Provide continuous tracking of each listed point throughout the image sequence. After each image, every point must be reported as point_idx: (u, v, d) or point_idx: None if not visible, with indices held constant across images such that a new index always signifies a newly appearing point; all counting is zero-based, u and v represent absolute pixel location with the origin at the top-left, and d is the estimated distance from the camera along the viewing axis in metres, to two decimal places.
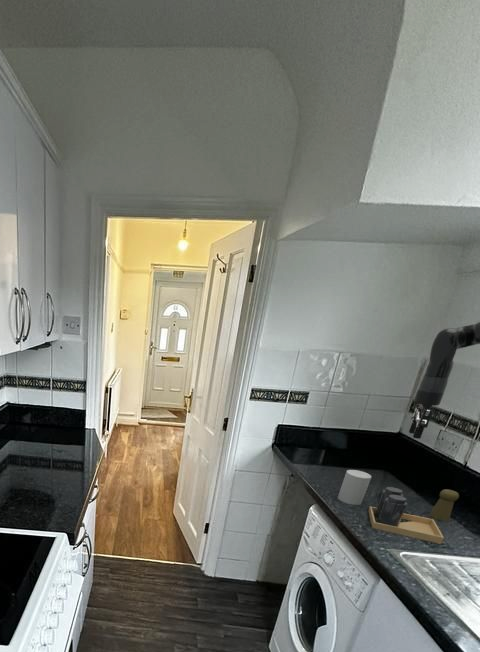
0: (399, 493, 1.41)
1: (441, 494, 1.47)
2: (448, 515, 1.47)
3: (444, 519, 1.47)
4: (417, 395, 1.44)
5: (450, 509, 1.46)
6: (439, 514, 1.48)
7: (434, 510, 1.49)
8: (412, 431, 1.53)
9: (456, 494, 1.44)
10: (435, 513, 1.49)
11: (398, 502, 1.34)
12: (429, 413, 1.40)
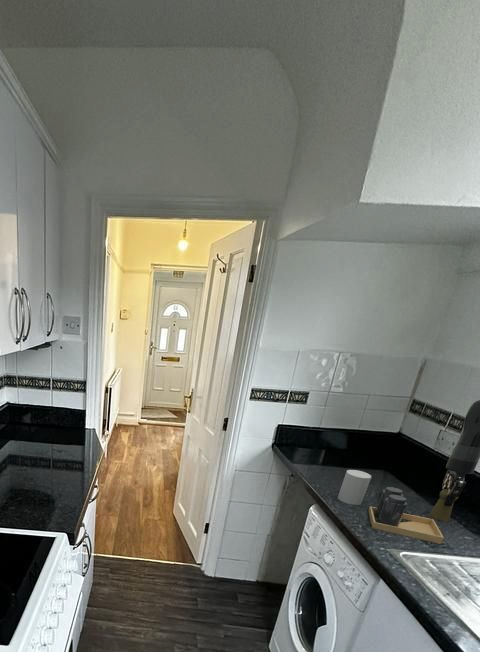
0: (399, 493, 1.41)
1: (441, 494, 1.47)
2: (448, 515, 1.47)
3: (444, 519, 1.47)
4: (450, 462, 1.42)
5: (450, 509, 1.46)
6: (439, 514, 1.48)
7: (434, 510, 1.49)
8: None
9: None
10: (435, 513, 1.49)
11: (398, 502, 1.34)
12: (462, 485, 1.39)
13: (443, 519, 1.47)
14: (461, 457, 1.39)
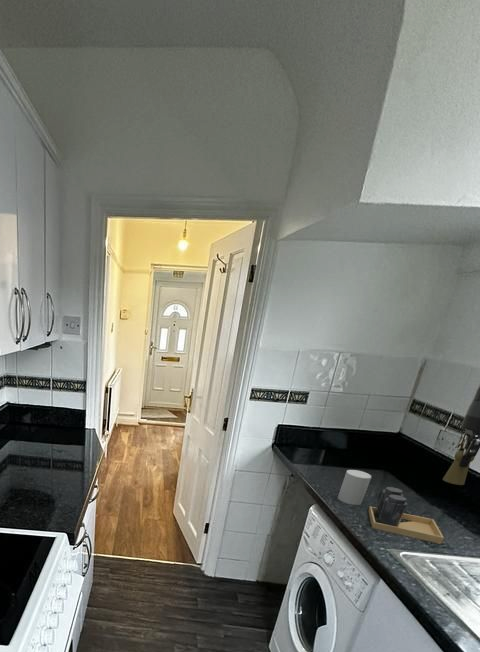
0: (399, 493, 1.41)
1: (456, 455, 1.40)
2: (463, 477, 1.40)
3: (459, 481, 1.41)
4: (466, 420, 1.36)
5: (466, 471, 1.40)
6: (454, 477, 1.41)
7: (449, 473, 1.43)
8: None
9: None
10: (449, 476, 1.42)
11: (398, 502, 1.34)
12: (479, 443, 1.32)
13: (458, 482, 1.41)
14: (477, 414, 1.32)
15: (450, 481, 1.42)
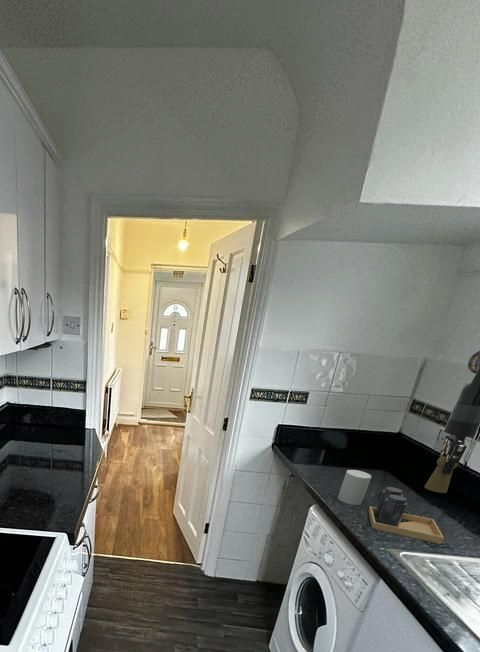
0: (399, 493, 1.41)
1: (438, 461, 1.31)
2: (446, 484, 1.32)
3: (442, 489, 1.32)
4: (449, 424, 1.27)
5: (448, 478, 1.31)
6: (436, 484, 1.32)
7: (431, 480, 1.34)
8: None
9: None
10: (431, 483, 1.33)
11: (398, 502, 1.34)
12: (462, 449, 1.23)
13: (441, 489, 1.32)
14: (461, 418, 1.23)
15: (432, 489, 1.33)
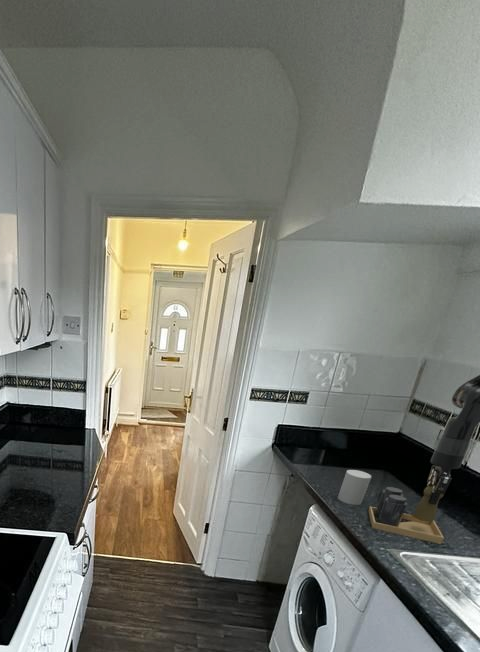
0: (399, 493, 1.41)
1: (425, 491, 1.35)
2: (432, 514, 1.35)
3: (428, 518, 1.35)
4: (435, 456, 1.30)
5: (435, 507, 1.34)
6: (423, 513, 1.35)
7: (418, 509, 1.37)
8: None
9: None
10: (418, 512, 1.37)
11: (398, 502, 1.34)
12: (447, 481, 1.26)
13: (427, 519, 1.35)
14: (446, 451, 1.27)
15: (419, 518, 1.36)
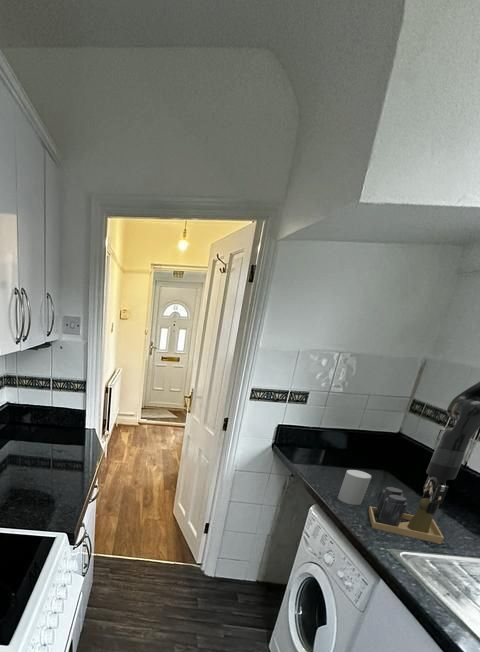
0: (399, 493, 1.41)
1: (420, 503, 1.36)
2: (427, 526, 1.36)
3: (423, 530, 1.37)
4: (430, 467, 1.31)
5: (430, 519, 1.36)
6: (418, 525, 1.37)
7: (413, 520, 1.39)
8: None
9: None
10: (414, 524, 1.38)
11: (398, 502, 1.34)
12: (444, 489, 1.27)
13: (422, 530, 1.37)
14: (442, 462, 1.28)
15: (414, 529, 1.38)
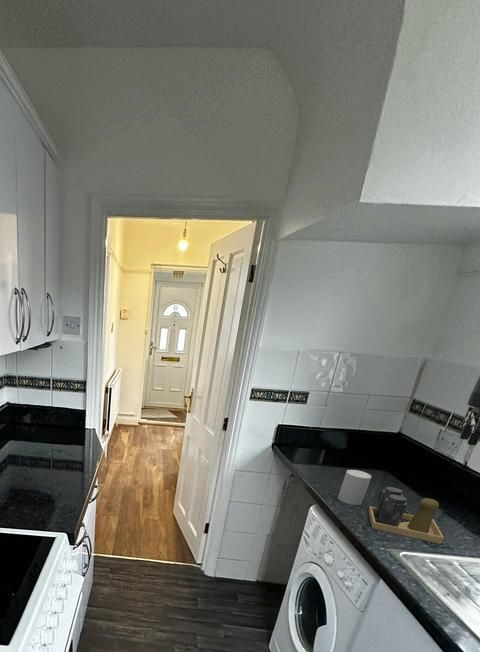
0: (399, 493, 1.41)
1: (420, 503, 1.36)
2: (427, 526, 1.36)
3: (423, 530, 1.37)
4: (472, 397, 1.30)
5: (430, 519, 1.36)
6: (418, 525, 1.37)
7: (413, 520, 1.39)
8: (464, 437, 1.39)
9: (436, 503, 1.34)
10: (414, 524, 1.38)
11: (398, 502, 1.34)
12: None
13: (422, 530, 1.37)
14: None
15: (414, 529, 1.38)
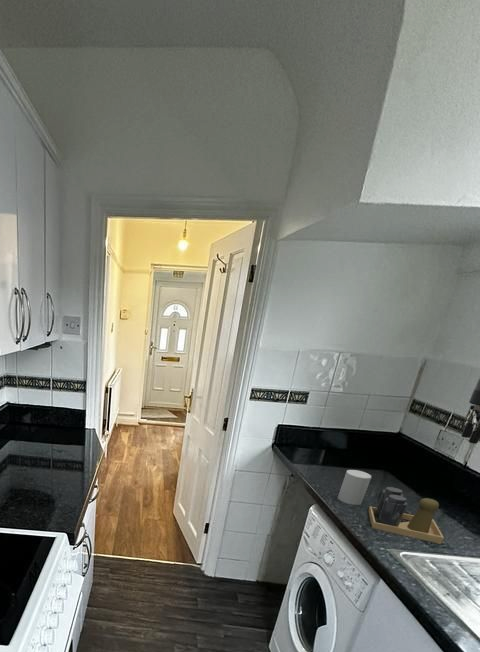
0: (399, 493, 1.41)
1: (420, 503, 1.36)
2: (427, 526, 1.36)
3: (423, 530, 1.37)
4: (474, 395, 1.31)
5: (430, 519, 1.36)
6: (418, 525, 1.37)
7: (413, 520, 1.39)
8: (465, 435, 1.39)
9: (436, 503, 1.34)
10: (414, 524, 1.38)
11: (398, 502, 1.34)
12: None
13: (422, 530, 1.37)
14: None
15: (414, 529, 1.38)
